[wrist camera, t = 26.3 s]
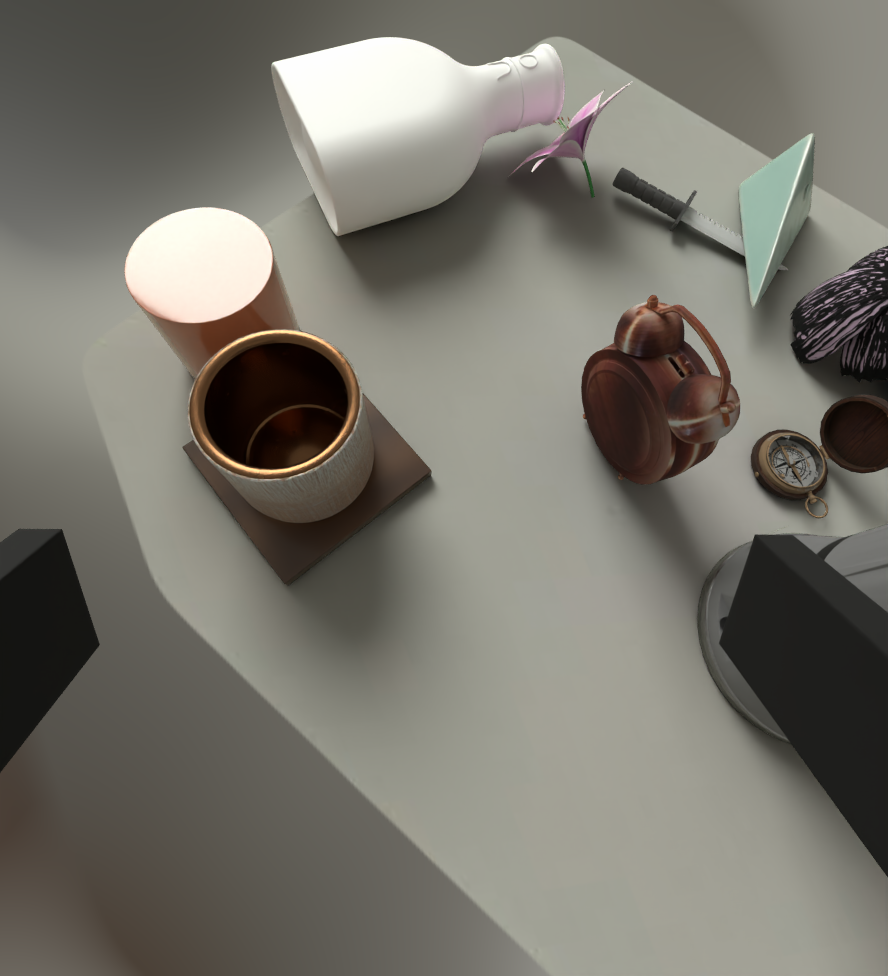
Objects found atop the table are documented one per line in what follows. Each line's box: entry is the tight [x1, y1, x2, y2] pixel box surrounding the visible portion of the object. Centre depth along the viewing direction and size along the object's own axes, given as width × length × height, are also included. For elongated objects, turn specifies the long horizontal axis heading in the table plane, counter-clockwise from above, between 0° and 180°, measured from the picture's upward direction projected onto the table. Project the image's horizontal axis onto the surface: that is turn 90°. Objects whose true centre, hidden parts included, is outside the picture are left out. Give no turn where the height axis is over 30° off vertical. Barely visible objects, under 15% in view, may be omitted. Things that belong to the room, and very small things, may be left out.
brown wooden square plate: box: [183, 393, 431, 586], centre depth 42 cm, size 14×14×1 cm
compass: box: [751, 395, 888, 518], centre depth 41 cm, size 8×8×7 cm
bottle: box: [271, 37, 565, 236], centre depth 50 cm, size 17×25×8 cm
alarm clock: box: [581, 295, 740, 484], centre depth 38 cm, size 11×5×15 cm, turn 24°
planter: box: [188, 329, 374, 523], centre depth 37 cm, size 11×11×10 cm
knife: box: [613, 168, 788, 270], centre depth 52 cm, size 19×2×5 cm
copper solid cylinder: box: [125, 207, 300, 379], centre depth 41 cm, size 10×10×10 cm
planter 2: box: [739, 133, 815, 308], centre depth 51 cm, size 8×6×18 cm
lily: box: [507, 82, 632, 198], centre depth 51 cm, size 12×12×10 cm
